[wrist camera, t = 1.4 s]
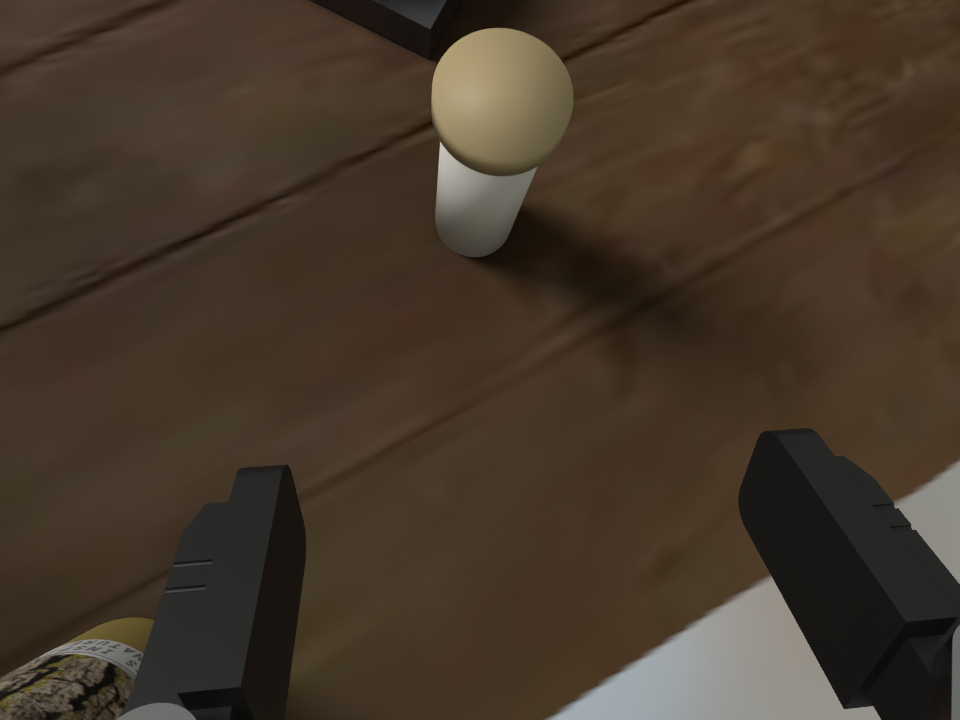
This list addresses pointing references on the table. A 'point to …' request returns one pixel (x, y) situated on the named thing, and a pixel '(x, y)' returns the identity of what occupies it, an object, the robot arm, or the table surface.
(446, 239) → the white beige cylinder
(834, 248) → the table surface
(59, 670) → the paper tube
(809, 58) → the table surface
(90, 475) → the table surface
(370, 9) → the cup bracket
